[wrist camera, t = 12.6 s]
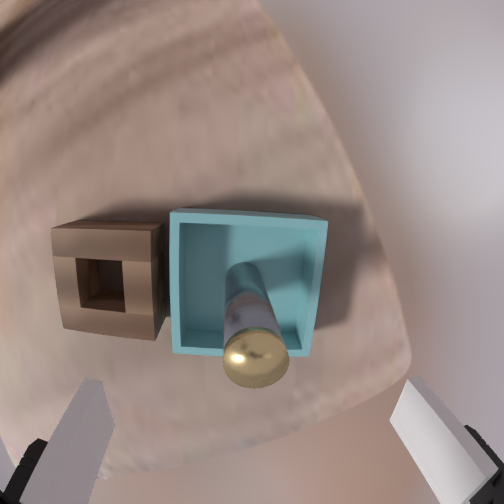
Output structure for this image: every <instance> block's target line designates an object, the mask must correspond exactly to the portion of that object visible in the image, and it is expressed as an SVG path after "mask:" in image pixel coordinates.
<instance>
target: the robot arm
mask: <svg viewBox="0 0 504 504" xmlns="http://www.w3.org/2000/svg"><path fill="white" fill-rule="evenodd" d="M390 422H391V424H392V425H393V427H394V429H395V430H396V432H397V433H398V435H399V437H400V438H401V440H402V441H403V443H404V444H405V446H406V448H407V449H408V451H409V453H410V454H411V456H412V457H413V459H414V461H415V462H416V464H417V465H418V467H419V469H420V470H421V472H422V473H423V475H424V477H425V479H426V480H427V482H428V484H429V485H430V487H431V489H432V490H433V492H434V493H435V495H436V497H437V498H438V500H439V502H440V503H441V504H466V503H467V502H468V501H470V503H471V504H504V463H503V462H502V461H501V460H500V459H499V458H498V456H497V455H496V454H495V453H494V451H493V450H492V449H491V448H490V447H489V445H486V442H485V441H484V440H483V439H482V437H481V436H480V435H479V434H478V433H477V431H476V430H474V429H473V428H471V427H469V426H468V425H465V426H463V425H462V424H461V423H460V421H459V420H458V419H457V418H456V417H455V416H454V414H453V413H452V412H451V411H450V410H449V409H448V407H447V406H446V405H445V404H444V403H443V402H442V401H441V400H440V398H439V397H438V396H437V395H436V394H435V393H434V391H433V390H432V389H431V388H430V387H429V386H428V385H427V384H426V383H425V382H424V380H423V379H422V378H421V377H420V376H419V377H414V378H410V379H407V381H406V384H405V386H404V389H403V392H402V394H401V396H400V398H399V401H398V403H397V405H396V407H395V410H394V412H393V414H392V416H391V418H390ZM114 427H115V424H114V421H113V418H112V415H111V411H110V408H109V405H108V401H107V398H106V394H105V391H104V387H103V383H102V381H100V380H95V379H90V378H85V380H84V381H83V383H82V385H81V386H80V388H79V390H78V391H77V393H76V395H75V396H74V398H73V400H72V401H71V403H70V405H69V406H68V408H67V410H66V412H65V413H64V415H63V417H62V419H61V420H60V422H59V424H58V426H57V427H56V429H55V431H54V433H53V435H52V436H51V438H50V440H49V442H47V441H44V440H41V439H39V438H38V439H37V440H36V441H34V442H33V443H32V444H30V445H29V446H28V448H27V450H26V452H25V453H24V455H23V456H24V457H22V459H21V461H20V462H19V465H18V466H17V468H16V470H15V472H14V474H13V475H12V478H11V479H10V481H9V483H8V485H7V487H6V489H5V491H4V492H3V493H2V491H1V490H0V504H88V501H89V498H90V495H91V492H92V489H93V486H94V483H95V480H96V477H97V474H98V471H99V468H100V465H101V462H102V460H103V457H104V454H105V451H106V448H107V446H108V443H109V440H110V437H111V435H112V432H113V429H114Z"/></svg>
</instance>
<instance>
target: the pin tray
mask: <svg viewBox="0 0 504 504" xmlns="http://www.w3.org/2000/svg"><path fill="white" fill-rule="evenodd" d="M327 229H328V221H326V220H324V219H321V218H319V217H316V216H314V215H302V214H289V213H274V212H259V211H241V210H222V209H199V208H178V209H176V210H174V211H172V212H170V246H169V262H170V308H171V330H172V347H173V353H180V354H194V355H211V356H223V344H224V304H225V277H226V274H227V272H228V270H229V269H230V268H231V267H232V266H233V265H235V264H237V263H242V262H246V263H250V264H252V265H254V266H255V267H257V268H258V270H259V271H260V273H261V276H262V279H263V282H264V285H265V288H266V291H267V293H268V296H269V299H270V302H271V305H272V308H273V311H274V314H275V317H276V319H277V322H278V325H279V328H280V331H281V334H282V337H283V340H284V343H285V346H286V348H287V351H288V355H289V357H297V356H309V354H310V348H311V343H312V337H313V331H314V325H315V319H316V313H317V306H318V300H319V293H320V286H321V279H322V271H323V263H324V255H325V247H326V238H327Z"/></svg>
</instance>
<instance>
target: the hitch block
mask: <svg viewBox="0 0 504 504" xmlns="http://www.w3.org/2000/svg"><path fill="white" fill-rule="evenodd" d="M51 234H52V249H53V261H54V270H55V279H56V287H57V293H58V300H59V306H60V312H61V317H62V322H63V327H64V328H65V329H71V330H76V331H83V332H89V333H95V334H102V335H109V336H117V337H125V338H133V339H143V340H152V341H155V340H156V338H157V336H158V333H159V331H160V329H161V326H162V324H163V322H164V320H165V295H164V223H154V222H119V221H73V222H70V223H66V224H63V225H60V226H57V227H53V228H51ZM98 259H102V260H118V261H122V269H123V285H124V292H122V291H111V290H100V281H99V268H98Z"/></svg>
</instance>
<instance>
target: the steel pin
mask: <svg viewBox="0 0 504 504" xmlns="http://www.w3.org/2000/svg"><path fill="white" fill-rule="evenodd" d="M288 366H289V355H288V351H287V348H286V346H285V343H284V340H283V337H282V334H281V331H280V328H279V325H278V322H277V319H276V317H275V314H274V311H273V308H272V305H271V302H270V299H269V296H268V293H267V291H266V288H265V285H264V282H263V279H262V276H261V273H260V271H259V270H258V268H257V267H255V266H254V265H252V264H250V263H246V262H242V263H237V264H235V265H233V266H232V267H231V268H230V269H229V270H228V272H227V274H226V277H225V304H224V344H223V367H224V371H225V373H226V375H227V376H228V378H229V379H230V380H231V381H233V382H234V383H236V384H237V385H240V386H242V387H246V388H263V387H267V386H269V385H272V384H274V383H275V382H277V381H278V380H279V379H281V378H282V377H283V375H284V374H285V373H286V371H287V369H288Z"/></svg>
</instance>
